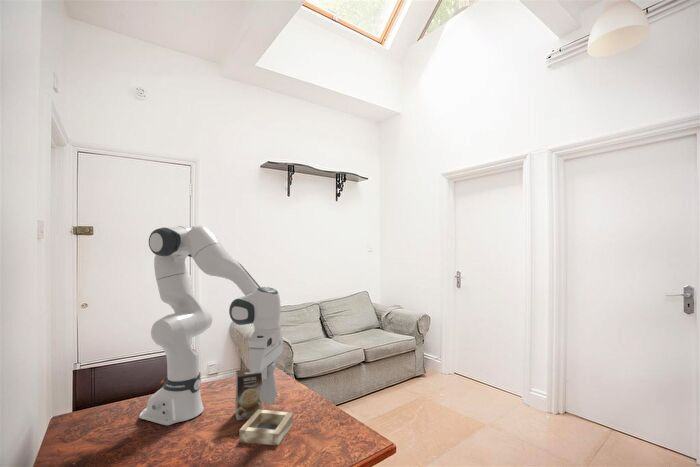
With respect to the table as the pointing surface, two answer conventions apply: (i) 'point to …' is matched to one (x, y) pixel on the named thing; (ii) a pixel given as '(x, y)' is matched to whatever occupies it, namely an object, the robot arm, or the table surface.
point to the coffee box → (247, 393)
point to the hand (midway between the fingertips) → (267, 375)
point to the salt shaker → (269, 386)
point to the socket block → (266, 427)
